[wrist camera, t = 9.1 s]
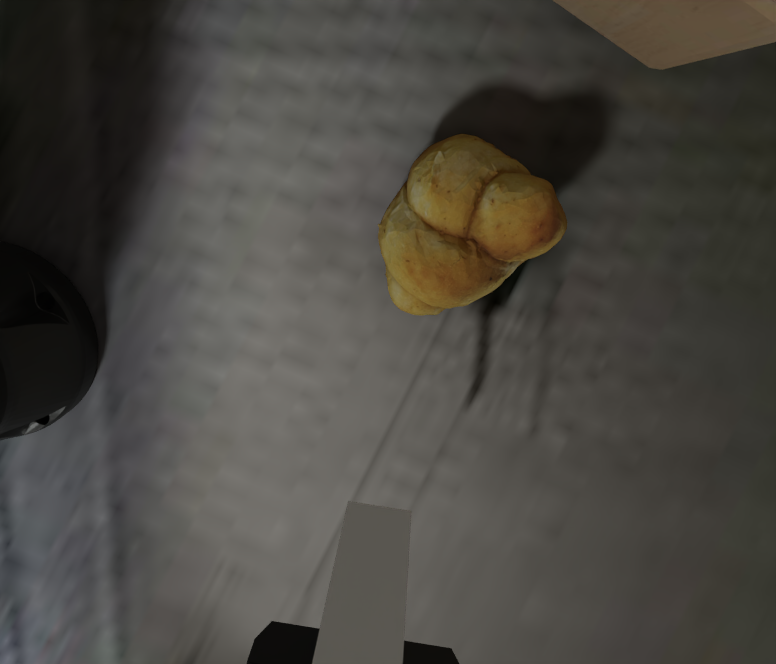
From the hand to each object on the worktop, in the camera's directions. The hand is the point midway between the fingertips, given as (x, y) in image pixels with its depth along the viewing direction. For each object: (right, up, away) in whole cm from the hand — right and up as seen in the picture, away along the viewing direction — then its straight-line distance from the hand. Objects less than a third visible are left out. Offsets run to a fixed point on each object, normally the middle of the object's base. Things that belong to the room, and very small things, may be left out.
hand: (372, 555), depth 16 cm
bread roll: (+5, +13, +31) cm, 34 cm away
